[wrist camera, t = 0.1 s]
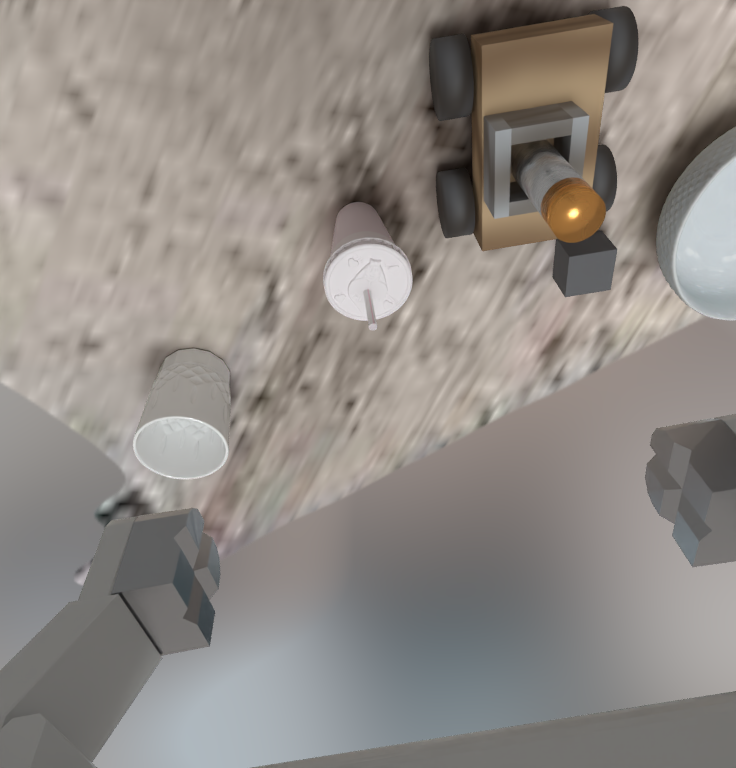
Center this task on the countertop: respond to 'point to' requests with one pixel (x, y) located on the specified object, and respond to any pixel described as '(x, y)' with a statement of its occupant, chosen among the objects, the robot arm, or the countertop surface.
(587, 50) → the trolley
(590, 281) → the dark grey cube
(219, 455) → the white cup
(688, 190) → the cereal bowl
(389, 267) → the smoothie
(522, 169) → the grey and orange cylinder
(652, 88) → the countertop surface
